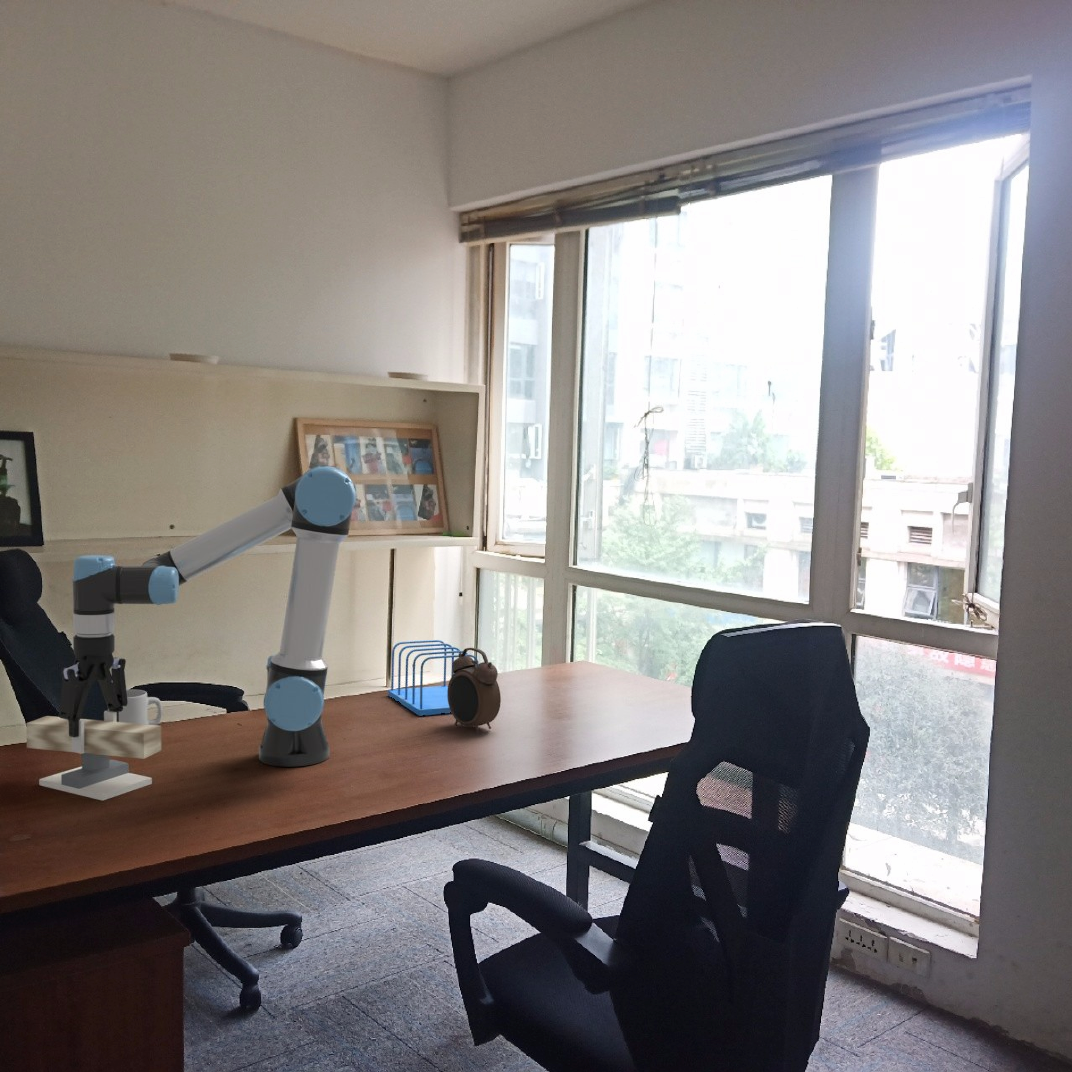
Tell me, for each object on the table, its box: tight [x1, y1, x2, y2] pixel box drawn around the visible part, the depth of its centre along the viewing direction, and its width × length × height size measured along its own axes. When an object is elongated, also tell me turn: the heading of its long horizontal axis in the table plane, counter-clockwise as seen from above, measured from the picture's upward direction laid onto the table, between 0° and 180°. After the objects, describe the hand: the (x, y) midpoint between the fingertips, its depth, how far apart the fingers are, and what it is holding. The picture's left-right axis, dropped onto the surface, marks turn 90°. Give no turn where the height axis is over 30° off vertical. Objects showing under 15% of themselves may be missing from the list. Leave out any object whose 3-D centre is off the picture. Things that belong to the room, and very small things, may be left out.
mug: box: [107, 689, 163, 725], centre depth 243 cm, size 12×8×11 cm
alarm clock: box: [447, 647, 502, 734], centre depth 258 cm, size 15×7×20 cm, turn 43°
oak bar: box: [25, 715, 162, 760], centre depth 210 cm, size 26×6×5 cm, turn 78°
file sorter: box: [387, 639, 480, 717], centre depth 284 cm, size 25×17×15 cm
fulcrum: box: [38, 753, 153, 801], centre depth 211 cm, size 18×12×7 cm, turn 62°
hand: (94, 747), depth 210 cm, fingers closed on oak bar, 7 cm apart
